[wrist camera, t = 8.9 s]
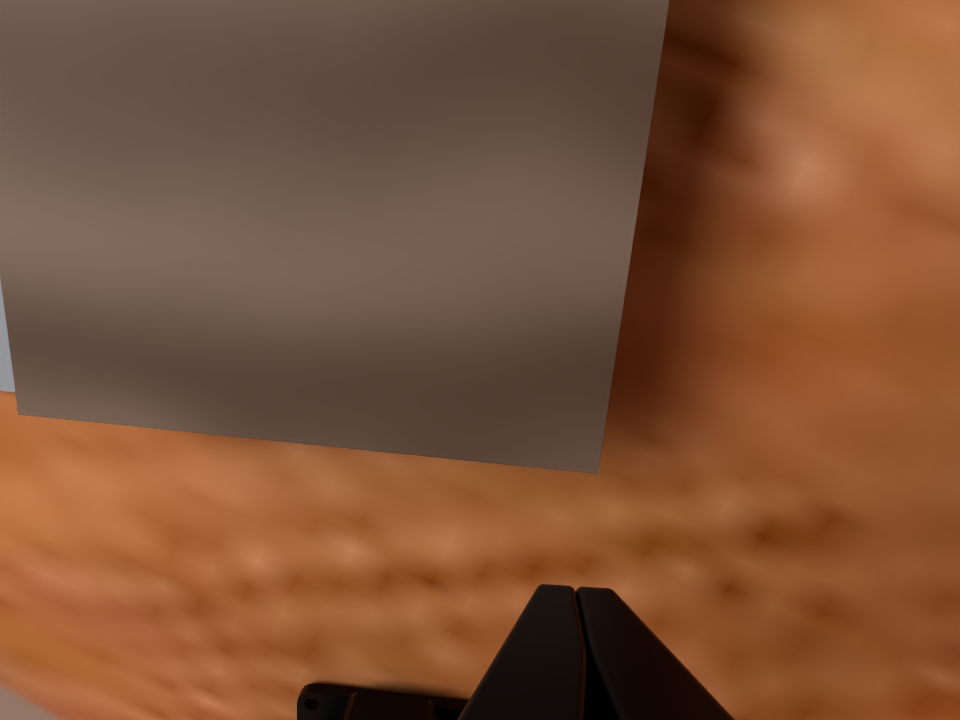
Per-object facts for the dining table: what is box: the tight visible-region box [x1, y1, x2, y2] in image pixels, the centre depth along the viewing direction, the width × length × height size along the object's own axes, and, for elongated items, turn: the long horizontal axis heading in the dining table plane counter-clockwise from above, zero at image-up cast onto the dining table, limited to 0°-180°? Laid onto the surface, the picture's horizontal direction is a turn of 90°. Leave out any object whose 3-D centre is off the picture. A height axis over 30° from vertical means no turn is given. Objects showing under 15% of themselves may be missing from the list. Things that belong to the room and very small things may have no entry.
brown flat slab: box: [0, 0, 669, 474], centre depth 16 cm, size 16×14×4 cm
